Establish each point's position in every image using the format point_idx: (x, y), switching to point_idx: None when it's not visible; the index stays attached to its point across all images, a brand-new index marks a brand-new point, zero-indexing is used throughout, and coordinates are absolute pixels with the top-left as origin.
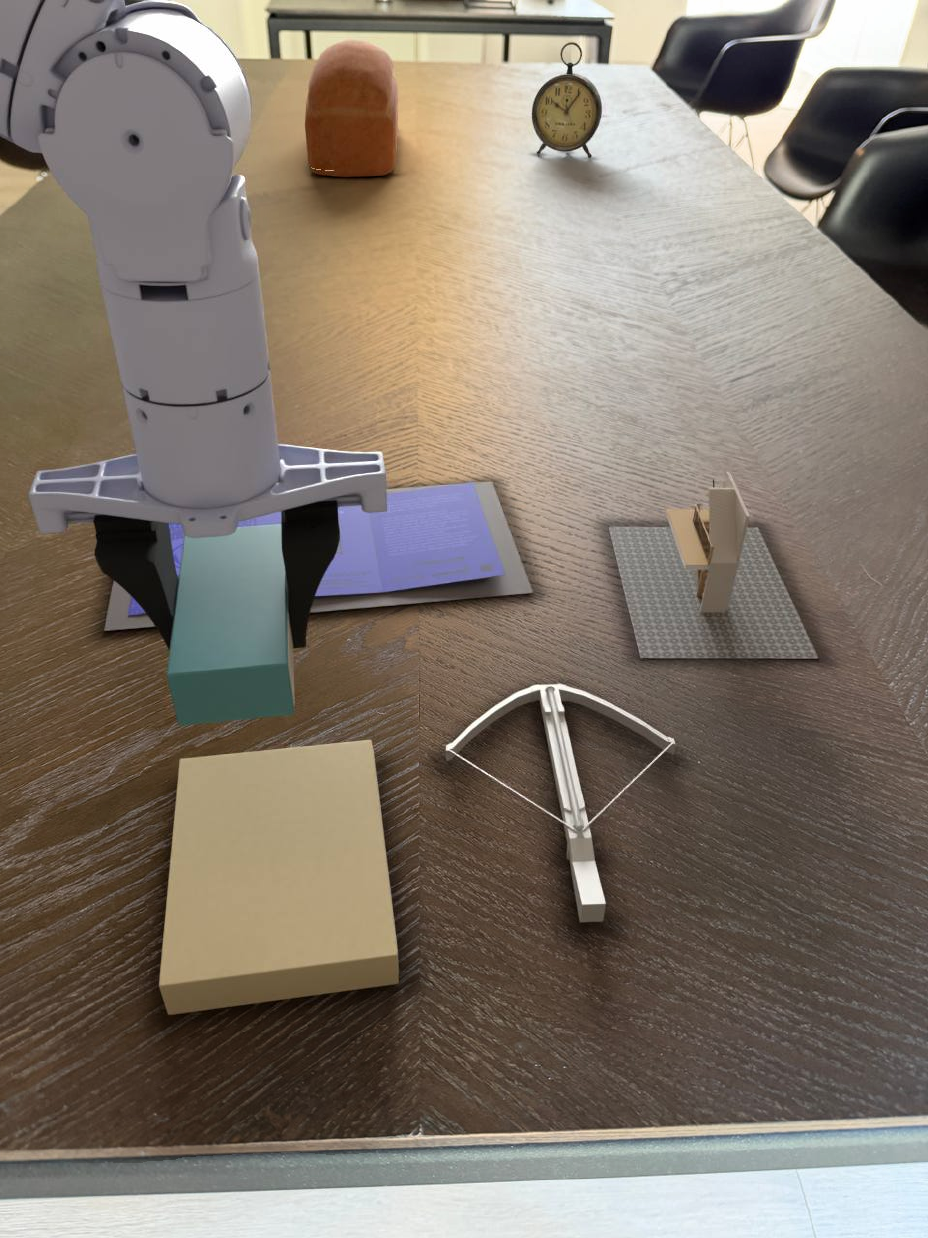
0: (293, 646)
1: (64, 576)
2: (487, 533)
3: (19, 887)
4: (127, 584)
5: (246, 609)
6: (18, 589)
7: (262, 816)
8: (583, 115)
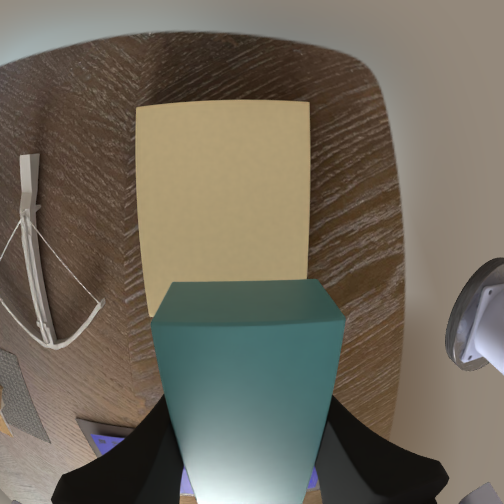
0: None
1: None
2: None
3: (399, 226)
4: (398, 453)
5: (227, 430)
6: None
7: (235, 247)
8: None
